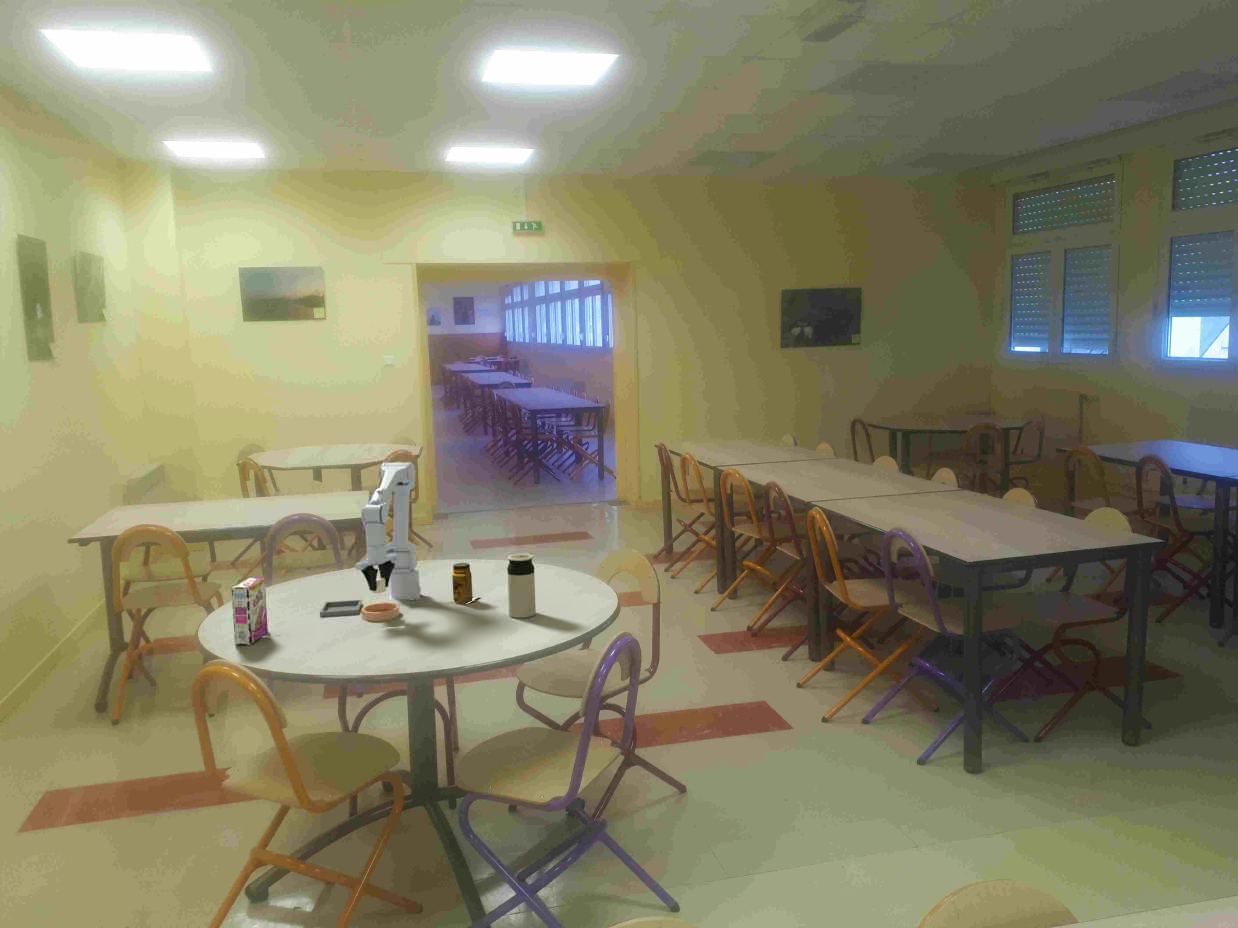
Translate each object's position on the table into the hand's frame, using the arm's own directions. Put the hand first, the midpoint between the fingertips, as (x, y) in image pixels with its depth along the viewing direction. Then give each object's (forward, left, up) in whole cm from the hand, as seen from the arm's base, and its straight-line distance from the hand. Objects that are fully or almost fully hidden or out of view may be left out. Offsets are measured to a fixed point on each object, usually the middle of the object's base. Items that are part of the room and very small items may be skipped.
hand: (379, 588), depth 267 cm
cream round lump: (0, 0, -1) cm, 1 cm away
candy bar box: (+34, +12, -9) cm, 37 cm away
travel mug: (-42, +8, -9) cm, 44 cm away
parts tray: (+12, -9, -9) cm, 17 cm away
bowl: (0, 0, -9) cm, 9 cm away
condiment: (-25, -12, -9) cm, 29 cm away
